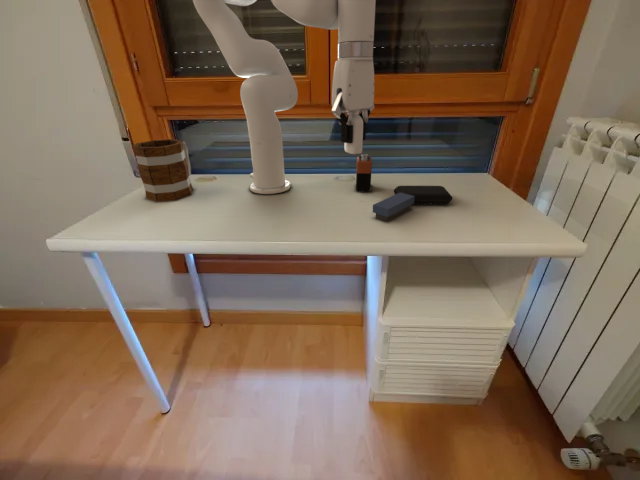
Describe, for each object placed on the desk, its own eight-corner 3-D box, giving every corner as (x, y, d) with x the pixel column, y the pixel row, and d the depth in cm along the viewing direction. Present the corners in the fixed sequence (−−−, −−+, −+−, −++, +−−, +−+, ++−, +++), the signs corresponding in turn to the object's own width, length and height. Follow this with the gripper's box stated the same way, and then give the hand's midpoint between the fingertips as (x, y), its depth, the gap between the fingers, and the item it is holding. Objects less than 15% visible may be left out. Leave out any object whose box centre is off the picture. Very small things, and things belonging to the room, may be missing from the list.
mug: (178, 202, 90) (166, 148, 83) (135, 200, 92) (120, 148, 85) (210, 182, 107) (202, 136, 100) (174, 180, 109) (163, 135, 102)
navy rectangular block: (387, 223, 75) (388, 209, 74) (372, 218, 78) (372, 204, 76) (413, 209, 83) (415, 196, 81) (398, 205, 86) (399, 192, 84)
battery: (370, 185, 101) (371, 153, 97) (370, 192, 95) (372, 158, 91) (356, 184, 102) (357, 153, 97) (355, 191, 96) (356, 158, 91)
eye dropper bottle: (361, 149, 80) (363, 97, 75) (362, 154, 75) (364, 99, 70) (344, 149, 81) (345, 97, 75) (343, 154, 76) (344, 99, 70)
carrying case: (442, 193, 94) (391, 192, 95) (444, 182, 92) (392, 182, 93) (453, 206, 84) (397, 205, 85) (455, 195, 83) (398, 195, 84)
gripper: (366, 55, 76) (363, 135, 84) (315, 53, 66) (317, 144, 74) (392, 53, 71) (386, 138, 79) (342, 50, 61) (341, 148, 69)
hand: (353, 140), depth 77 cm, fingers closed on eye dropper bottle, 4 cm apart
